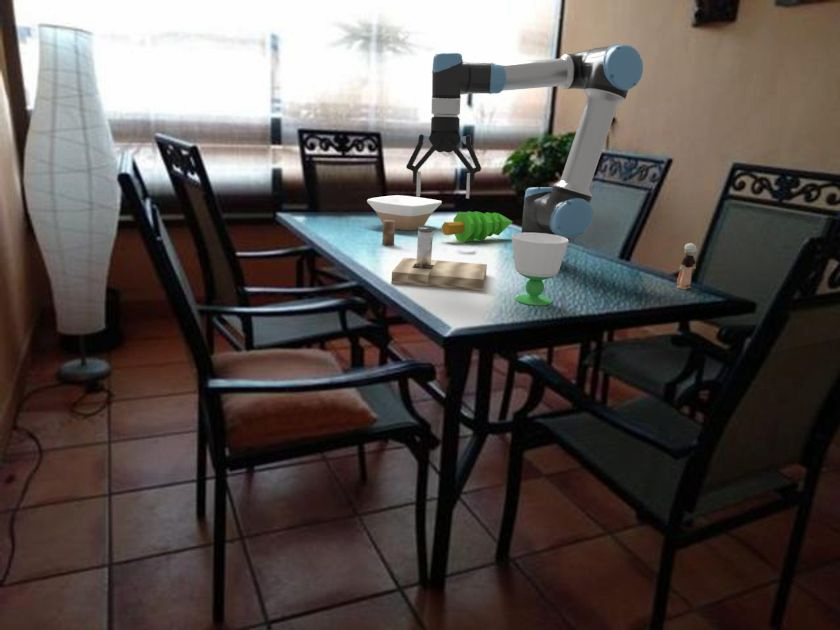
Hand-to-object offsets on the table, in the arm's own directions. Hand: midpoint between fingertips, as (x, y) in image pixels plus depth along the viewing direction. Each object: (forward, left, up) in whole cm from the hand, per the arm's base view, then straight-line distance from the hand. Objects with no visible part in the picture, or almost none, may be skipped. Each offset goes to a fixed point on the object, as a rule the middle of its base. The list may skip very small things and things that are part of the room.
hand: (442, 197), depth 174 cm
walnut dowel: (+22, -34, -21) cm, 46 cm away
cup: (-26, +21, -22) cm, 40 cm away
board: (-1, +7, -21) cm, 22 cm away
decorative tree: (-8, -54, -22) cm, 59 cm away
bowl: (+23, -70, -22) cm, 77 cm away
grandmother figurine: (-68, -6, -22) cm, 72 cm away
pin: (+3, +7, -21) cm, 22 cm away
